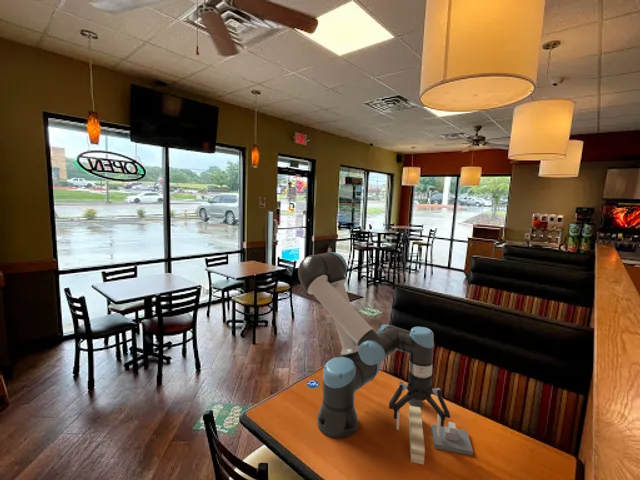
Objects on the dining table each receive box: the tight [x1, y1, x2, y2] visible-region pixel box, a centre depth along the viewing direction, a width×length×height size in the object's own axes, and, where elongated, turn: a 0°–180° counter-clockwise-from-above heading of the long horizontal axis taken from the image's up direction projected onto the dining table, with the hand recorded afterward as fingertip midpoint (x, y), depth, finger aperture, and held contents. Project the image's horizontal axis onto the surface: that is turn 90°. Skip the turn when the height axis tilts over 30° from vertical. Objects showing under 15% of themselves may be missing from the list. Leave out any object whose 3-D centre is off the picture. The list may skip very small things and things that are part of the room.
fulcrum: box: [431, 421, 474, 456], centre depth 111 cm, size 12×10×6 cm
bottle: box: [407, 398, 424, 407], centre depth 131 cm, size 6×6×15 cm
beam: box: [408, 405, 426, 465], centre depth 111 cm, size 22×4×5 cm, turn 166°
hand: (417, 430), depth 111 cm, fingers open, 13 cm apart
